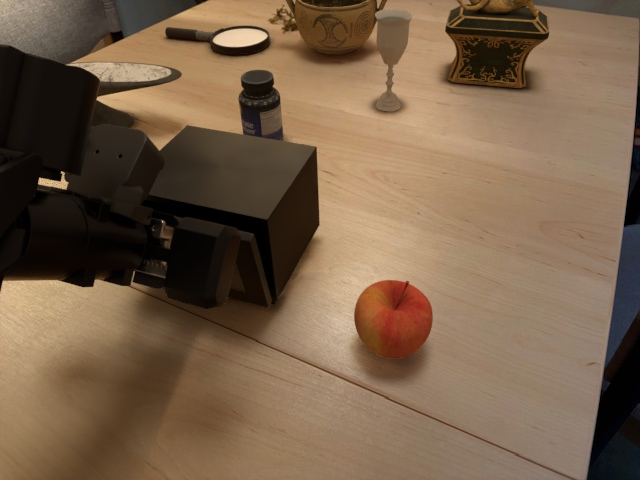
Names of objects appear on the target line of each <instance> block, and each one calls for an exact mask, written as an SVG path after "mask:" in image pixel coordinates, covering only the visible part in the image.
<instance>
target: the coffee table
mask: <svg viewBox="0 0 640 480" xmlns="http://www.w3.org/2000/svg"><path fill="white" fill-rule="evenodd" d="M64 64H65V65H69V66H77V67H81V68H83V69H85V70H87V71H89V72H91V73H93V74H94V75H96V76H97V77H98V78H99V79H100V86H99V91H98V95H97V98H99V97H104V96H109V95H114V94H119V93H125V92H129V91H130V92H131V91H134V90H139V89H145V88H151V87H152V88H153V87H155V86H161V85H164V84H169V83H172V82H175V81H177V80H179V79H180V78H182V76H183V75H182V74H183V73H182V71H180V70H178V69H176V68H173V67H170V66H165V65H160V64H154V63H153V64H151V63H141V62H128V61H127V62H125V61H82V62H81V61H79V62H67V63H64ZM134 123H135V118H134V117H133V116H132V115H131V114H130V113H128V112H125V111H122V110H119V109H118V108H117V109H116V108H114V107H112V106H109V105H108V104H105V103H104V102H101V101H99V100H98V99H97V100H96V105H95V110H94V114H93V119H92V124H91V126H93V127H96V126H98V125H101V124H110V125H115V126H121V127H127V128H131V127H132V126H133V125H134Z"/></svg>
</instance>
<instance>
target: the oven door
mask: <svg viewBox="0 0 640 480" xmlns="http://www.w3.org/2000/svg"><path fill="white" fill-rule="evenodd" d="M177 219H178V221H179V224H180V223H181V221H182V220H183V219H184V218H180V217H177ZM238 232H239V234H240V235H241V240H240V244H239V249H238V253H237V258H236V262H235V267H234V271H233V276H232V280H231V285H230V290H229V294H228V298H229V299H233V300H235V301H240V302H244V303H247V304H252V305H256V306H259V307H263V308H267V309H269V308H270V306H271V305H272V304H271V302H272V298H271V295H270V291H269V287H268V284H267V280H266V276H265V272H264V269H263V265H262V261H261V257H260V254H259V250H258V246H257V243H256V239H255V235H254V234H253V233H248V232H244V231H239V230H238Z"/></svg>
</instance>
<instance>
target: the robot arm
mask: <svg viewBox="0 0 640 480" xmlns="http://www.w3.org/2000/svg"><path fill="white" fill-rule="evenodd" d="M65 64H66V63H62V62H59V61H56V60H53V59H50V58H47V57H43V56H39V55H36V54H33V53H27V52H25V51H23V50H21V49H19V48H17V47H14V46H13V45H10V44H2V43H0V293H1V291H2V287H3V283H4V282H18V281H19V282H27V281H29V282H30V281H32V282H33V281H34V282H35V281H36V282H37V281H59V282H62V283H66V284H69V285H73V286H76V287H80V288H94V286H95V281H102V282H106V283H109V284H113V285H117V286H120V287H131V286H132V284H133V283H134V284H137V285H141V286H144V287H148V288H153V289H155V290H159V289H164V292H165V295H166V298H167V299H169V300H172V301H176V302H180V303H184V304H187V305H191V306H195V307H197V308H202V309H205V310H210V309H219V308H220V307H221V306H222V307H223V305H225V304H226V303H227V302H228V294H229V290H230V285H231V280H232V276H233V271H234V267H235V262H236V258H237V253H238V249H239V244H240V240H241V235H240V234H239V232H238V230H237V228H235V227H231V226H226V225H221V224H217V223H212V222H208V221H203V220H199V219H194V218H189V217H185V218H184V219H183V220H182V221H181V223H180V224H179V221H178V219H177V217H176V216H174V215H171V214H167V213H162V212H158V211H153V208H148V207H144V206H142V202H144V201H145V200H146V198H147V197H148V195H149V193H150V191H151V188H152V186H153V184H154V182H155V180H156V178H157V175H158V173H159V171H161V170H162V169H163V166H164V164H165V158H164V156H163V154H162V153H161V152H160V149H159V148H158V147H157V145H155V143H154V142H153V141H152V140H151V139H150V137H149V136H148V134H146V132H145V131H144V130H141V129H138V128H131V127H129V128H127V127H121V126H115V125H110V124H101V125H98V126H96V127H93V126H91V124H92V119H93V114H94V110H95V105H96V100H98V97H97V95H98V91H99V86H100V79H99V78H98V77H97V76H96V75H94V74H93V73H91V72H89V71H87V70H85V69H83V68H81V67H77V66H69V65H65ZM63 174H64V175H63ZM63 177H64V180H65V182H67V185H66V188H61V187H56V186H53V185H52V186H51V185H45V184H39V181H40V179H44V180H49V181H55V182H62V179H63Z"/></svg>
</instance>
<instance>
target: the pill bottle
mask: <svg viewBox="0 0 640 480" xmlns="http://www.w3.org/2000/svg"><path fill="white" fill-rule="evenodd" d="M240 85H241V88H242V90H241V91H240V92H239V94H238V105H239V112H240V113H239V114H240V120H241V128H242V134H243V135H249V136H255V137H261V138H267V139H274V140H280V141H285V140H284V128H283V115H282V103H281V94H280V92H279V90H278V89H277V88H275V87H274V85H275V78H274V74H273V72H271V71H269V70H267V69H251V70H248V71H246V72H243V74H241V76H240Z"/></svg>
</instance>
